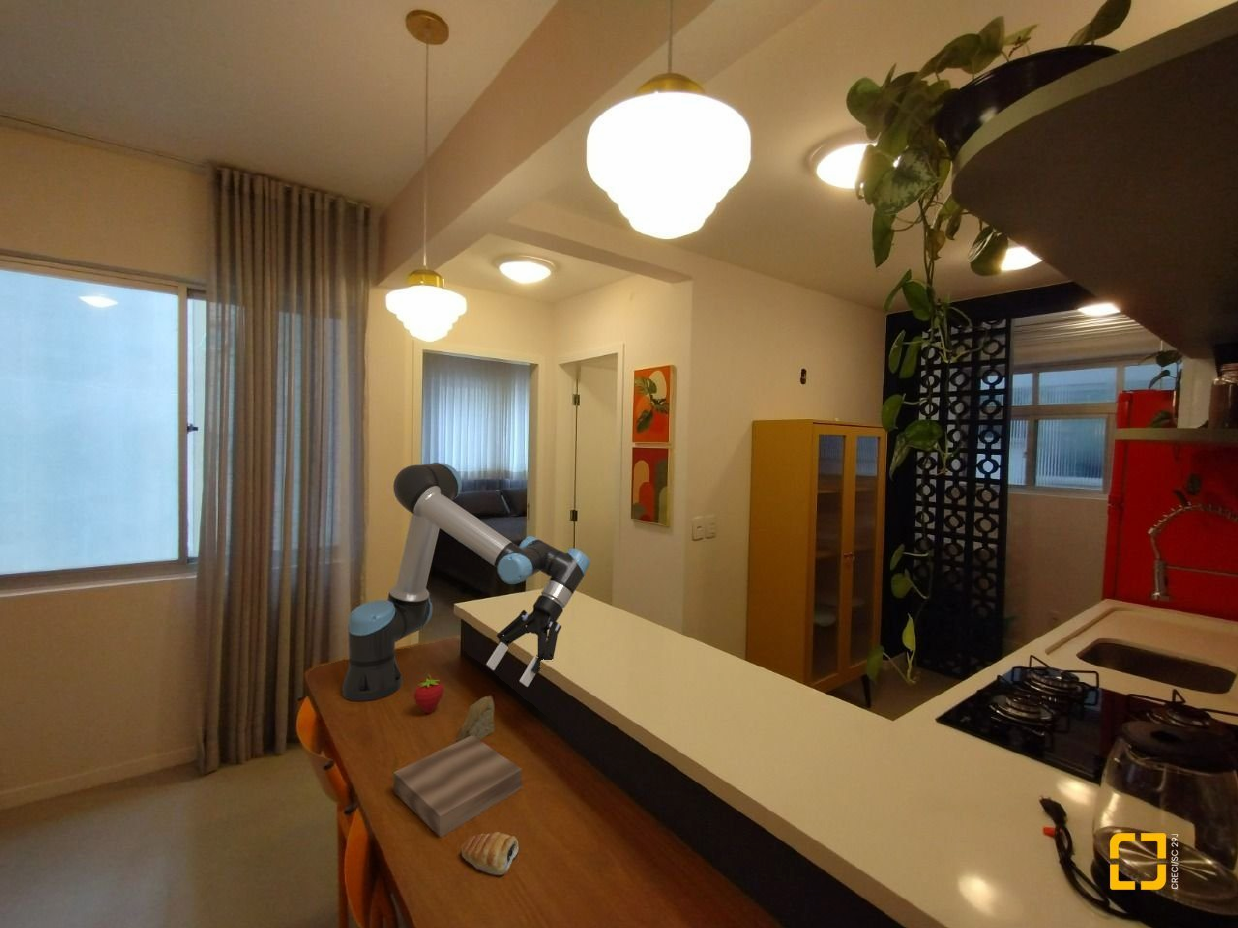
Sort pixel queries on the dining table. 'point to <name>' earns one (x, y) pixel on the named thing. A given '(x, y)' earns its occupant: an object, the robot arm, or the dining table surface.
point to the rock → (478, 720)
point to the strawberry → (428, 695)
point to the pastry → (490, 852)
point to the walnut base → (457, 784)
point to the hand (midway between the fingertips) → (506, 675)
